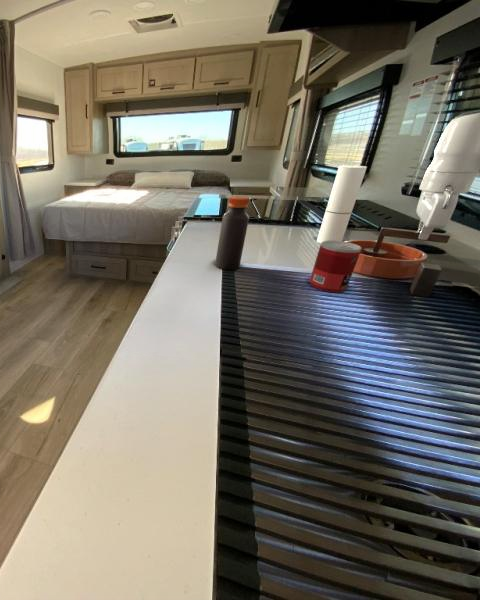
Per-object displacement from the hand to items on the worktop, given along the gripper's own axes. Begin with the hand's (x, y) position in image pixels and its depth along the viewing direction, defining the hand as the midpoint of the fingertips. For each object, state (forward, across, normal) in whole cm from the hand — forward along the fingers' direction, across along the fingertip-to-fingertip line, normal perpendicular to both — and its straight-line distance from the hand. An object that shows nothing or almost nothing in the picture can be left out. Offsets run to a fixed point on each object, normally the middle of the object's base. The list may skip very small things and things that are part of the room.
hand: (421, 237), depth 89 cm
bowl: (+9, -3, +7) cm, 12 cm away
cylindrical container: (+10, +19, +19) cm, 29 cm away
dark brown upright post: (+9, -18, -1) cm, 20 cm away
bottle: (+10, -24, +42) cm, 49 cm away
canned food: (+10, -25, +17) cm, 31 cm away
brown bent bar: (+7, 0, +3) cm, 8 cm away
